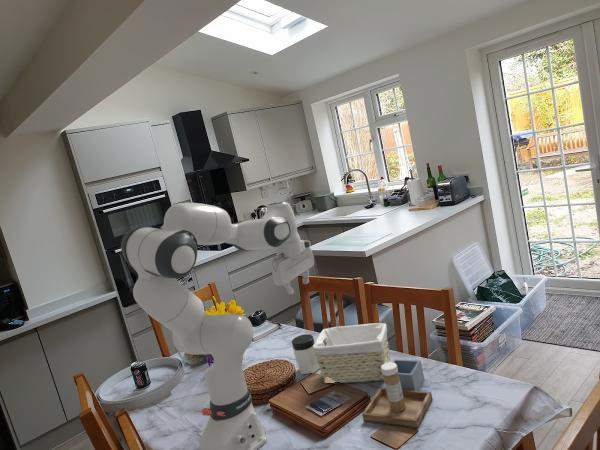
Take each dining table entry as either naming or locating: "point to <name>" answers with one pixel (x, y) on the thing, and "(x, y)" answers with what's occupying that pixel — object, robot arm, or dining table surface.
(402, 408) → the sprinkles bottle
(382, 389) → the tray
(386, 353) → the storage basket
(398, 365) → the blue-grey square bin
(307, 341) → the jar
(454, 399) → the dining table surface
